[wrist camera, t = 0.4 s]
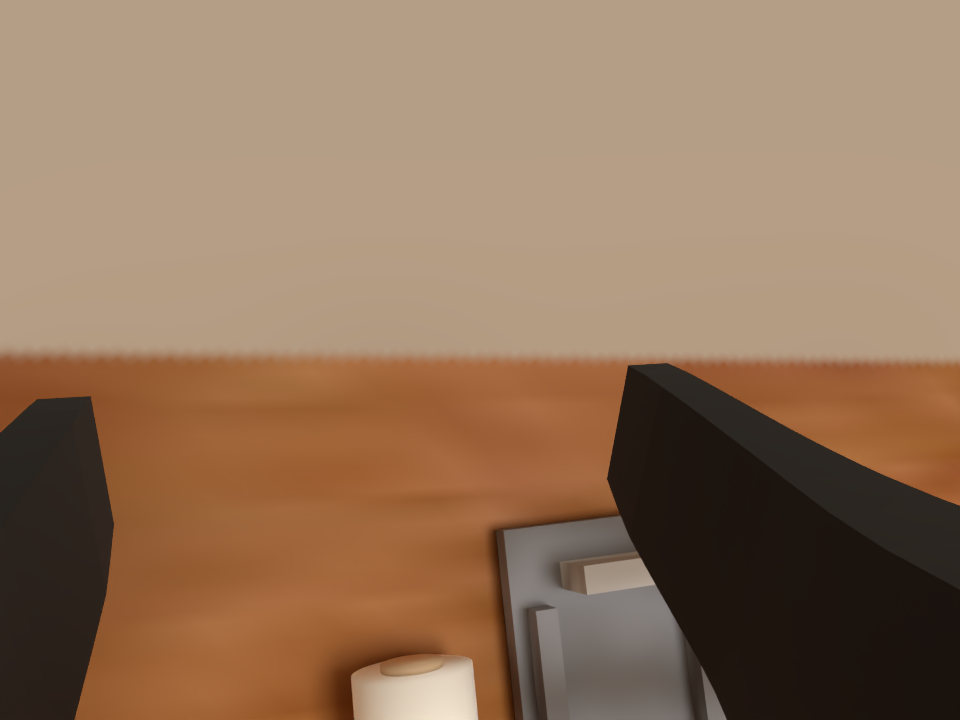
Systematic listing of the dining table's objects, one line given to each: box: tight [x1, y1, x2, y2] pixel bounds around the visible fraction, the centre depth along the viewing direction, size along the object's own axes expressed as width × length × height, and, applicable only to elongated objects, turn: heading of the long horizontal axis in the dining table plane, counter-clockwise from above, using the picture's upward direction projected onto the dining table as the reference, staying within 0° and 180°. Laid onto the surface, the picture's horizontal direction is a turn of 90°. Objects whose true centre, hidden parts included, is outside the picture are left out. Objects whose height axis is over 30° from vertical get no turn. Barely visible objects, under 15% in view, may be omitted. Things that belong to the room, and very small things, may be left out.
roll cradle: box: [496, 515, 727, 720], centre depth 37 cm, size 16×10×4 cm, turn 6°
